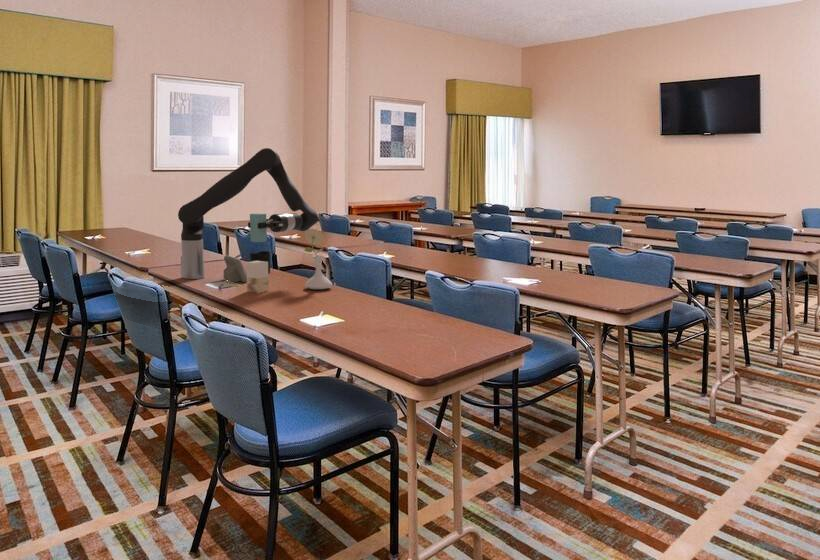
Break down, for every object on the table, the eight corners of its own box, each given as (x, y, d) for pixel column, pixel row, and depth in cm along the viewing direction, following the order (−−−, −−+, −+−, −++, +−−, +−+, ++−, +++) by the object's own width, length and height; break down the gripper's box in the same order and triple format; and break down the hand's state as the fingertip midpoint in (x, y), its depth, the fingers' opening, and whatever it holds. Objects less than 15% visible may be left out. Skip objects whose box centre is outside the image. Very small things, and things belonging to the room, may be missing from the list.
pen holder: (268, 275, 305) (267, 253, 303) (248, 274, 305) (247, 253, 303) (272, 271, 314) (272, 251, 312) (253, 271, 314) (252, 250, 313)
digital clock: (249, 283, 284) (248, 258, 282) (227, 284, 281) (226, 259, 279) (242, 277, 299) (241, 254, 297) (222, 278, 295) (221, 254, 293)
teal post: (250, 241, 263) (249, 213, 261) (258, 240, 266) (257, 213, 265) (259, 242, 260) (258, 214, 258) (266, 241, 264) (266, 213, 262)
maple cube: (247, 291, 265) (246, 277, 264) (257, 289, 270) (257, 275, 269) (258, 293, 262) (258, 278, 261) (268, 291, 267) (268, 276, 266)
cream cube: (246, 277, 264) (246, 262, 263) (257, 275, 269) (256, 260, 268) (258, 278, 261) (257, 263, 260) (268, 276, 266) (268, 261, 265)
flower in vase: (337, 288, 275) (337, 228, 271) (320, 292, 265) (320, 230, 261) (313, 285, 281) (312, 226, 277) (296, 289, 272) (294, 228, 268)
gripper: (268, 212, 277) (239, 215, 263) (295, 214, 270) (266, 217, 256) (269, 230, 279) (240, 233, 264) (295, 232, 272) (267, 236, 257)
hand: (253, 225), depth 260 cm, fingers closed on teal post, 4 cm apart
